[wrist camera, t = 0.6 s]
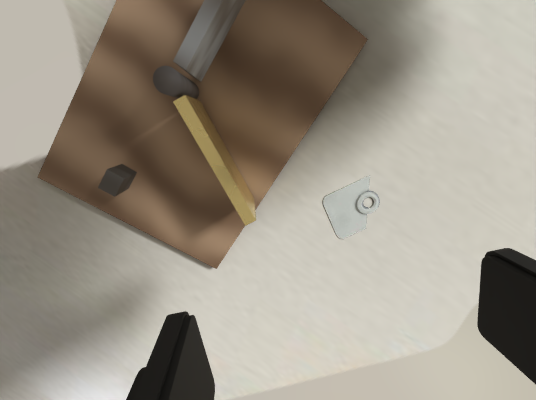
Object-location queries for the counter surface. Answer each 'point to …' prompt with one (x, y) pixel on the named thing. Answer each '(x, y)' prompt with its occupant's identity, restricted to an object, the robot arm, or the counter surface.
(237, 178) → the bar
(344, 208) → the mounting bracket
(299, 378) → the counter surface
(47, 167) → the hinge base
